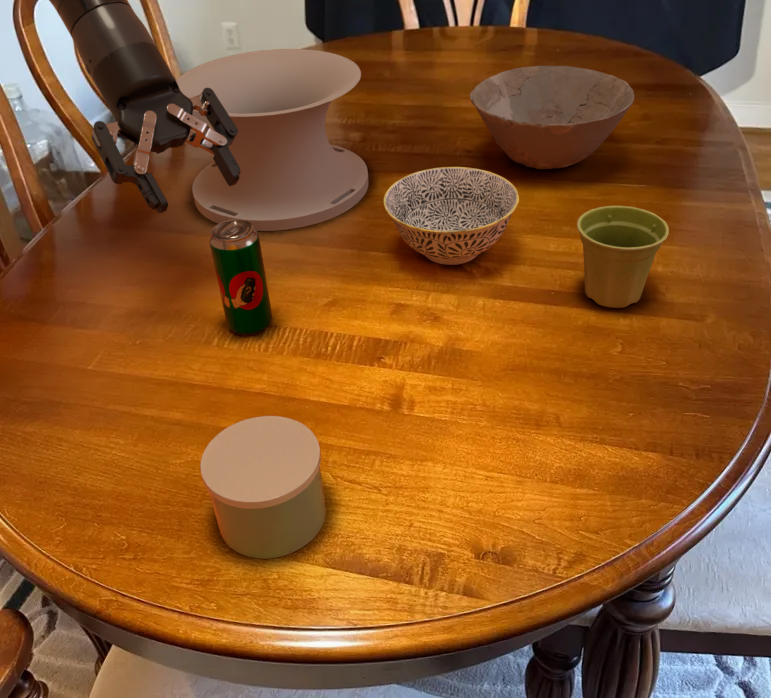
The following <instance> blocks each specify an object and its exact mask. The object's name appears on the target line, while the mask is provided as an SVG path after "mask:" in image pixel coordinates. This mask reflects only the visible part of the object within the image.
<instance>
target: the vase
mask: <svg viewBox="0 0 771 698" xmlns="http://www.w3.org/2000/svg"><path fill="white" fill-rule="evenodd" d="M361 77H362V71H361V69H360V67H359V65H358V64H357V63H356V62H355V61H352V60H351V59H350V58H347V57H345V56H343V55H340V54H336V53H333V52H328V51H323V50H317V49H316V50H315V49H305V48H276V49H262V50H261V49H260V50H253V51H248V52H242V53H236V54H232V55H231V54H230V55H227V56H223V57H219V58H217V59H213V60H210V61H207V62H205V63H202V64H199V65H197V66H195V67H193V68H191V69H189V70H187V71H186V72H184V73H183V74H181V75H180V76H179V77H178V78H177V79H176V81H177V84H178V86H179V89H180V91H181V92H182V93H183V94H184V95H185V96H187V97H188V98H192V97H194V96H197V95H199V94H201V93H202V92H203V90H204V88H211V89H212V90H213V91H214V93H215V94H216V96H217V98H218V99H219V101H220V102H221V104H222V105H223V107H224V108H225V110H226V112H227V113H228V115H229V116H230V118H231V119H232V121H233V122H234V124H235V126H236V127H237V129H238V133H237V135H236V136H235V138H234V140H233V142H232V144H231V145H229V146H228V147H229V150H230V151H231V153H232V155H233V157H234V158H235V160H236V162H237V164H238V165H239V167H240V174H239V180H238V182H237V183H236V184H235V185H233V186H229V185H228V184H227V182H226V180H225V179H224V177H223V175H222V173H221V172H220V170H219V168H218V166H217V165H216V163H215V161H214V160H213V161H212V162H211V163H209V164H208V165H206V166H205V167H204V168H203V169H202V170H200V172H199V173H198V174H197V175H196V177H195V178H194V180H193V183H192V187H191V189H192V190H191V192H192V196H193V200H194V204H195V207H196V208H197V210H198V212H199V213H200V214H201V215H202V216H203V217H205V218H206V219H208V220H210V221H211V222H213V223H216V224H219V223H221V222H224V221H228V220H234V219H240V220H246V221H249V222H250V223H252V225H253V227H254V229H255V230H256V231H257V232H274V231H275V232H276V231H285V230H286V231H287V230H293V229H294V230H295V229H299V228H304V227H309V226H313V225H316V224H320V223H323V222H325V221H328V220H331V219H334V218H336V217H338V216H340V215H342V214H344V213H346V212H347V211H349V210H351V209H352V208H353V207H354V206H356V205H357V204H358V203H359V202H360V201H361V200H362V199H363V198H364V196H365V195H366V193H367V191H368V188H369V184H370V183H369V182H370V181H369V171H368V166H367V164H366V163H365V161H364V159H362V158H361V157H360V156H359V155H358V154H356V153H355V152H352V150H351V151H350V150H349V149H347V148H344V147H342V146H339V145H335V144H331V143H330V141H329V138H328V135H327V131H326V119H327V118H326V117H327V112H328V109H329V107H330V105H331V103H332V101H333V100H336V99H338V98H340V97H342V96H344V95H345V94H347V93H348V92H350V91H351V90H352V89H354V88H355V87H356V86H357V84H359V82H360V80H361ZM193 112H196V113H199V112H198V111H197V110H193Z"/></svg>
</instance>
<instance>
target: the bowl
mask: <svg viewBox="0 0 771 698" xmlns="http://www.w3.org/2000/svg"><path fill="white" fill-rule="evenodd" d="M382 202H383V207H384V209H385V211H386V213H387V215H388V216H389V217H390V218H391V220H392V221H393V224H394V226H395V228H396V230H397V232H398V233H399V235H400V237H401V239H403V241H404V242H405V243H406V244H407V245H408V246H409V247H410V248H411V249H413V250H414V251H415V252H417V253H419V254H421V255H423V256H425V257H426V258H427V259H428V260H429V261H431V262H433V263H436V264H439V265H446V266H455V265H462V264H466V263H468V262H471V261H473V260H474V259H475V258H476V257H477V256H478V255H480V254H482V253H484V252H486V251H487V250H489V249H490V248H492V246H494V245H495V244H496V243H497V242H498V240H500V238H501V236H502V235H503V234H504V231H506V228H507V226H508V224H509V222H510V219H511V217H512V215H513V214H514V212H515V211H516V209H517V208H518V205H519V202H520V194H519V191H518V189H517V188H516V186H515V185H514V183H511V181H510V180H508V179H506V178H505V177H503V176H501V175H499V174H497V173H494V172H492V171H488V170H484V169H479V168H475V167H465V166H443V167H434V168H428V169H423V170H420V171H416V172H413V173H410V174H407V175H406V176H403V177H401V178H400V179H398V180H397V181H395V182H393V184H391V185H390V186H389V188H387V189H386V192H385V194H384V195H383V201H382Z"/></svg>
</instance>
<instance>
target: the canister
mask: <svg viewBox="0 0 771 698" xmlns="http://www.w3.org/2000/svg"><path fill="white" fill-rule="evenodd" d="M321 455H322V454H321V447H320V443H319V440H318V438H317V437H316V435H315V433H314V432H313V431H312V430H311V428H309V427H307V425H305V424H304V423H302V422H300V421H298V420H296V419H293V418H289V417H285V416H279V415H261V416H260V415H259V416H255V417H250V418H246V419H243V420H240V421H237V422H235V423H233V424H230V425H229V426H227V427H226V428H224V429H223V430H221V431H220V432H219V433H217V434H216V435H215V436H214V437H213V438H212V439H211V440H210V441H209V443H208V444H207V445H206V447H205V449H204V451H203V453H202V455H201V459H200V465H199V467H200V475H201V478H202V482H203V484H204V486H205V489H206V490H207V492H208V493H209V497H210V501H211V505H212V508H213V513H214V516H215V519H216V523H217V526H218V527H217V528H218V530H219V533H220V536H221V538H222V540H223V541H224V543H225V544H226V545H227V546H228V547H229V548H231V549H232V550H233V551H234V552H237V553H238V554H240V555H242V556H245V557H249V558H253V559H276V558H281V557H284V556H286V555H290V554H293V553H295V552H297V551H299V550H300V549H302V548H303V547H305V546H307V545H308V544H309V543H310V542H311V541H313V539H314V538H315V537H316V536H317V535H318V534H319V532H320V530H321V529H322V527H323V525H324V522H325V519H326V513H327V506H326V500H325V492H324V486H323V478H322V472H321V471H322V470H321V462H322V456H321Z"/></svg>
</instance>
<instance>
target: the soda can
mask: <svg viewBox="0 0 771 698" xmlns="http://www.w3.org/2000/svg"><path fill="white" fill-rule="evenodd" d="M210 232H211V233H210V235H211V236H210V239H209V247H210V252H211V256H212V257H211V258H212V261H213V265H214V270H215V275H216V279H217V284H218V289H219V293H220V294H219V295H220V299H221V303H222V308H223V313H224V317H225V323H226V325H227V327H228V328H229V330H231V331H232V332H234V333H235V334H238V335H243V336H251V335H256V334H259V333H262V332H263V331H264V330H266V329H267V328H268V327H269V325H270V324H271V322H272V321H273V312H272V305H271V300H270V295H269V294H270V293H269V288H268V281H267V277H266V270H265V264H264V259H263V253H262V246H261V239H260V235H259V233H258V231H256V230H255V229H254V227H253V225H252V223H250V222H249V221H246V220H240V219H234V220H228V221H224V222H221V223H219V224H218V223H216V225H214V226H213V228H212V229H211V231H210Z"/></svg>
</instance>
